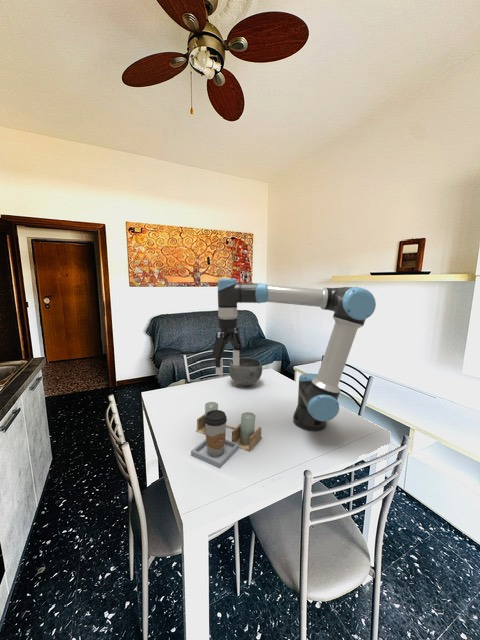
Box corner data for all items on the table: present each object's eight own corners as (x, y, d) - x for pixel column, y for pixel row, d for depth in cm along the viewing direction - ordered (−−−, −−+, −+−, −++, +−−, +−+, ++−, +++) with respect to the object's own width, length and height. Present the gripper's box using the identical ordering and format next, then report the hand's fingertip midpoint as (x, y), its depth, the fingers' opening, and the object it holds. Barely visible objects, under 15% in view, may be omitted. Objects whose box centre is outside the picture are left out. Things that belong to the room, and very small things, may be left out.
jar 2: (256, 441, 107) (258, 416, 105) (246, 447, 103) (248, 421, 101) (246, 435, 111) (247, 410, 109) (236, 440, 107) (238, 415, 105)
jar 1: (220, 427, 116) (220, 403, 115) (212, 433, 112) (212, 409, 110) (210, 423, 119) (210, 400, 118) (202, 429, 114) (202, 405, 113)
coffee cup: (209, 461, 94) (209, 422, 92) (201, 448, 102) (201, 412, 100) (230, 454, 98) (230, 417, 96) (221, 442, 106) (221, 407, 103)
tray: (239, 450, 102) (239, 444, 102) (219, 470, 91) (219, 463, 91) (211, 439, 109) (211, 433, 108) (190, 457, 98) (190, 450, 97)
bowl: (225, 389, 160) (226, 365, 158) (232, 377, 180) (232, 355, 178) (260, 392, 156) (260, 368, 154) (262, 379, 177) (263, 358, 175)
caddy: (261, 439, 109) (262, 426, 108) (249, 453, 100) (250, 439, 99) (210, 422, 122) (210, 409, 121) (195, 432, 113) (195, 419, 112)
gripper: (234, 314, 117) (234, 360, 120) (201, 321, 95) (202, 377, 98) (250, 314, 113) (249, 362, 116) (218, 322, 91) (219, 381, 94)
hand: (228, 369), depth 107 cm, fingers open, 13 cm apart
